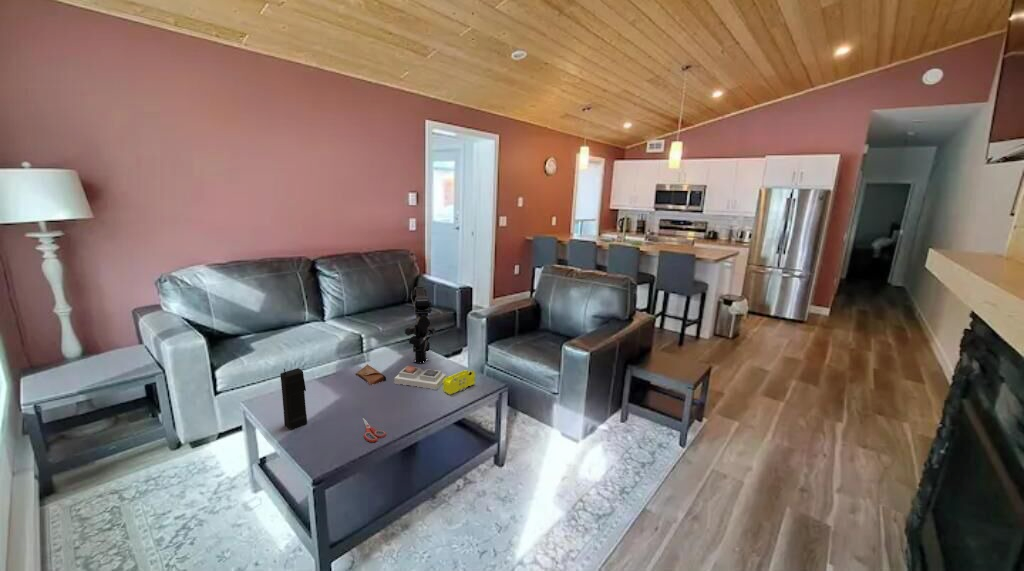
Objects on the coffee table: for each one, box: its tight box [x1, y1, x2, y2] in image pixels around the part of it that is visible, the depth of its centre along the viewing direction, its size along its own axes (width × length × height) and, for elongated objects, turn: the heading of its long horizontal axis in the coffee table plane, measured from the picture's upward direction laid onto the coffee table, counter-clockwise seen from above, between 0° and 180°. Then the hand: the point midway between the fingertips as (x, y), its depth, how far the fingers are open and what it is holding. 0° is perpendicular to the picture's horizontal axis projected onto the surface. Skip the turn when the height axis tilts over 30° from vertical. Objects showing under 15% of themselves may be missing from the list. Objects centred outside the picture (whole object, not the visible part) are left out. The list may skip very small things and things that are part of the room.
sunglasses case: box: [354, 364, 387, 386], centre depth 209 cm, size 18×7×7 cm, turn 47°
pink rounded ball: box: [405, 365, 416, 374], centre depth 207 cm, size 4×4×3 cm
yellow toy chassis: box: [442, 369, 476, 395], centre depth 200 cm, size 16×6×8 cm, turn 139°
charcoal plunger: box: [426, 369, 436, 377], centre depth 204 cm, size 4×4×3 cm
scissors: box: [362, 417, 387, 443], centre depth 165 cm, size 8×21×2 cm, turn 45°
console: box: [393, 365, 447, 391], centre depth 206 cm, size 12×22×5 cm, turn 77°
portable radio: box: [280, 368, 308, 430], centre depth 164 cm, size 8×6×25 cm
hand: (422, 351), depth 213 cm, fingers closed
